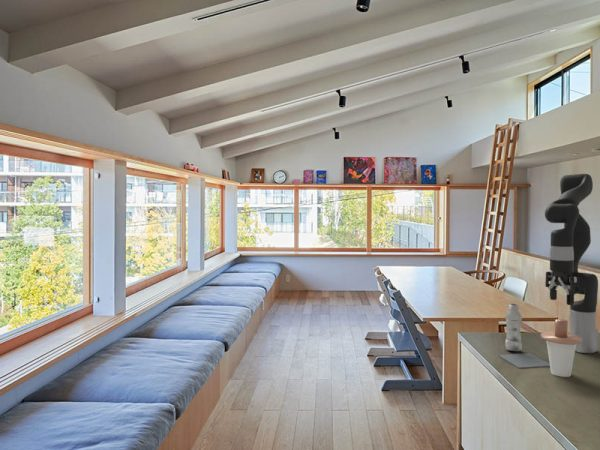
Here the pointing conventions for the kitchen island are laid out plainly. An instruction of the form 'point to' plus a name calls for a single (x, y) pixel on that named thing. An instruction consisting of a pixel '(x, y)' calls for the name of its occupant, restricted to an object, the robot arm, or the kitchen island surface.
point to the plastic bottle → (513, 328)
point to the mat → (524, 360)
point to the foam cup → (561, 358)
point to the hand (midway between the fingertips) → (561, 302)
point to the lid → (561, 334)
